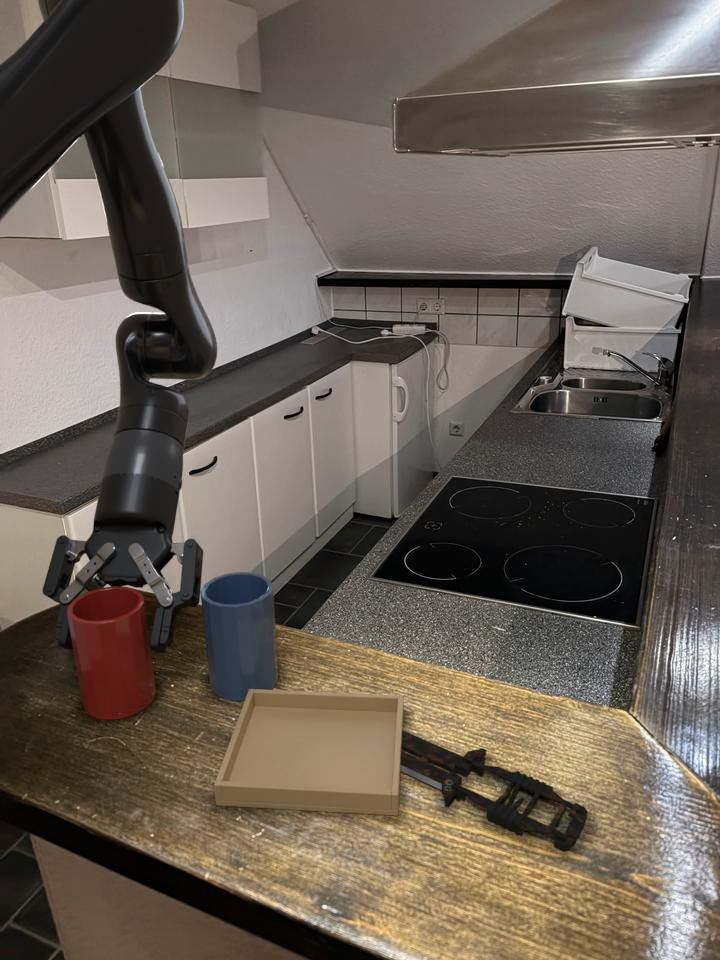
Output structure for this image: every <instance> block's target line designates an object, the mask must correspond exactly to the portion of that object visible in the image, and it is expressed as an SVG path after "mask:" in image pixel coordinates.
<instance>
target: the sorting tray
mask: <svg viewBox="0 0 720 960" xmlns="http://www.w3.org/2000/svg"><path fill="white" fill-rule="evenodd" d="M404 697H405V696H404V695H401V694H400V695H399V694H398V695H397V694H375V693H374V694H373V693H353V692H331V691H329V692H328V691H305V690H304V691H303V690H283V689H282V690H281V689H272V690H261V689H255V690H254V689H249V691H248V693H247V696H246V699H245V701H243V704H242V707H241V710H240V713H239V716H238V718H237V720H236V724H235V726H234V729H233V732H232V735H231V737H230V740H229V743H228V746H227V748H226V751H225V754H224V757H223V759H222V762H221V764H220V768H219V770H218V773H217V775H216V778H215V781H214V784H213V788H214V789H213V790H214V798H215V799H214V800H215V806H219V807H235V808H236V807H238V808H252V809H253V808H255V809H272V810H290V811H291V810H292V811H307V812H309V811H310V812H324V813H325V812H326V813H341V814H342V813H343V814H344V813H345V814H360V815H378V816H395V817H396V816H397V817H398V816H399V807H400V806H399V803H400V789H401V788H400V786H401V771H400V768H401V751H403V749H402V730H403V731H404V729H403V728H404V715H405V712H404V705H405V703H404V702H405V700H404V699H405V698H404Z"/></svg>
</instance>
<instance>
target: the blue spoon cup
mask: <svg viewBox="0 0 720 960" xmlns="http://www.w3.org/2000/svg"><path fill="white" fill-rule="evenodd" d="M274 594H275V593H274V585H273V583H272V581H271V579H269V578H268V577H267V576H265V575H263V574H259V573H255V572H251V571H250V572H248V571H237V572H236V571H235V572H229V573H225V574H222V575H219V576H216V577H213V578H211V579H210V580H208V581H207V582H206V583H205V584H203V586H202V587H201V589H200V601H201V609H202V610H201V611H202V621H203V629H204V631H203V632H204V640H205V649H206V661H207V668H208V670H207V671H208V679H209V686H210V689H211V691H212V692H213V693H214V694H215V695H216V696H217V697H220V698H221V699H224V700H228V701H233V702H234V701H235V702H242V701H243V702H245V699H246V696H247V693H248V691H249V689H254V690H255V689H261V690H274V688H275V686H276V685H277V683H278V681H279V658H278V645H277V644H278V643H277V630H276V629H277V628H276V610H275V595H274Z"/></svg>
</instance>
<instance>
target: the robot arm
mask: <svg viewBox="0 0 720 960" xmlns="http://www.w3.org/2000/svg"><path fill="white" fill-rule="evenodd" d="M37 1H38V2H37V3H38V8H39V11H40V15H41V17H42V21H43V22H41V23H40V25H39V26H38V27H37V28H36V29H35V30H34V32H33V33H32V34H31V35H30V36H29V37H28V38H27V40H25V42H24V43H23V44H21V46H20V47H18V49H16V51H15V52H13V54H11V55H10V56H8V58H6V59H5V60H4V61H3V62H1V63H0V223H2V221H3V220H4V219H5V218H6V217H7V215H8V214H9V213H10V212H11V211H12V210H13V209H14V208H15V207H16V205H18V204H19V202H21V200H22V199H23V198H24V197H25V196H26V195H27V194H28V193H29V192H30V191H31V190H32V189H33V188H34V187H35V186H36V185H37V184H38V183H39V182H40V181H41V180H42V179H43V177H44V176H45V175H46V174H48V172H49V171H50V170H51V169H52V168H53V167H54V166H55V165H56V164H57V162H58V161H59V160H60V159H61V158H62V157H63V156H64V155H65V153H67V152H68V150H69V149H70V148H71V147H72V146H73V145H74V144H75V143H76V142H77V141H78V140H79V139H80V138H81V137H82V136H83V137H84V139H85V143H86V146H87V149H88V153H89V156H90V159H91V163H92V167H93V170H94V171H93V172H94V174H95V178H96V181H97V182H96V183H97V185H98V189H99V194H100V197H101V202H102V206H103V211H104V216H105V220H106V224H107V225H106V226H107V231H108V235H109V240H110V244H111V245H110V246H111V250H112V254H113V259H114V260H113V261H114V263H115V269H116V274H117V279H118V283H119V287H120V289H121V291H122V293H123V295H124V296H125V297H126V298H128V299H129V300H130V301H133V302H135V303H137V304H140V305H144V306H148V307H151V308H154V309H157V310H159V311H160V312H134V313H131V314H129V315H128V316H126V317H125V318H124V319H123V320H122V321H121V322H120V324H119V325H118V327H117V328H116V333H115V337H114V338H115V339H114V340H115V351H116V352H115V353H116V358H117V359H116V360H117V365H118V373H119V375H118V376H119V407H118V413H117V417H116V423H115V427H114V432H113V437H112V442H111V444H110V447H109V450H108V452H107V455H106V459H105V463H104V468H103V472H102V478H101V483H100V487H99V493H98V497H97V503H96V506H95V512H94V516H93V527H92V532H91V534H90V536H89V537H88V538H87V540H80V539H79V540H78V539H71V538H70V537H68V536H67V535H64V534H62V535H60V536H58V537H57V538H56V541H55V545H54V548H53V551H52V555H51V558H50V561H49V566H48V569H47V571H46V576H45V580H44V583H43V586H42V590H41V591H42V594H43V596H45V597H47V598H49V599H51V601H53V602H55V603H58V604H59V610H58V615H57V620H56V624H55V629H54V639H55V640H56V641H57V643H58V644H57V645H58V646H59V647H60V648H62V649H65V650H73V645H72V639H71V633H70V628H69V622H68V616H67V610H68V606H69V605H70V604H71V603H72V601H73V600H74V599H76V598H78V597H79V596H81V595H83V594H84V593H87V592H90V591H93V590H96V589H99V588H105V587H107V585H108V586H109V587H112V586H119V587H127V586H128V587H131V588H135V589H136V588H139V589H141V588H142V589H143V588H144V586H147V585H148V586H149V588H150V590H151V591H152V592H153V595H154V596H155V597H156V599H157V601H158V602H159V607H155V613H154V619H153V626H152V630H151V631H152V632H151V637H150V648H151V652H152V651H153V652H154V653H156V654H165V652H166V648H169V647H171V646H172V643H173V642H174V635H175V629H176V621H177V616H178V613H179V612H180V611H182V610H183V609H186V608H189V607H190V608H195V607H198V605H199V604H200V601H201V590H202V587H201V586H202V576H203V575H202V574H203V563H204V550H203V549H204V548H202V547H201V545H200V544H199V542H198V541H197V540H196V539H194V538H192V537H191V538H188V539H186V540H185V541H184V542H173V534H174V531H175V525H176V518H177V512H178V505H179V498H180V493H181V490H182V488H183V471H184V451H185V446H186V445H185V444H186V440H187V439H186V438H187V432H188V427H189V426H188V425H189V419H190V405H189V402H188V399H187V398H186V397H185V396H184V395H183V394H182V393H181V392H179V391H177V390H176V389H174V388H171V387H168V386H166V385H163V384H159V383H156V382H152V381H150V380H151V379H152V380H154V379H156V380H182V381H195V380H196V381H197V380H202V379H204V378H206V377H207V376H208V375H209V374H210V373H211V372H212V370H213V369H214V367H215V365H216V361H217V359H218V342H217V338H216V334H215V331H214V329H213V326H212V322H211V321H210V319H209V316H208V314H207V313H206V311H205V308H204V306H203V304H202V301H201V300H200V297H199V295H198V292H197V289H196V287H195V285H194V282H193V278H192V276H191V273H190V267H189V260H188V253H187V252H188V251H187V246H186V239H185V233H184V227H183V221H182V216H181V212H180V208H179V205H178V202H177V199H176V196H175V195H176V194H175V193H174V190H173V187H172V184H171V182H170V180H169V177H168V174H167V172H166V168H165V166H164V164H163V161H162V159H161V156H160V154H159V151H158V148H157V146H156V143H155V139H154V137H153V135H152V132H151V128H150V124H149V121H148V116H147V114H146V110H145V109H146V108H145V105H144V100H143V95H142V89H141V87H142V86H144V85H145V84H146V83H147V82H148V81H149V80H151V79H152V78H153V77H155V75H157V74H158V73H159V72H160V71H161V70H162V69H163V68H164V67H165V66H166V64H168V62H169V60H170V59H171V57H172V56H173V54H174V53H175V51H176V49H177V47H178V45H179V43H180V39H181V36H182V32H183V28H184V20H185V19H184V18H185V7H184V0H37ZM84 555H86V556H87V558H88V560H89V561H87V563H86V564H85V565H83V567H82V568H81V569H80V570H79V571H78V572H77V573H76V574H75V576H74V580H73V581H72V582H71V579H72V576H73V573H74V569H75V565H76V564H77V563H79V562H80V561H81V559H82V557H83V556H84ZM174 556H176V560H177V562H178V563H179V564H180V565H181V574H180V586H179V591H175V592H173V590H172V587H171V585H170V584H169V582H168V581H167V579H166V577H165V575H164V574H163V572H162V570H163V569H164V568H165V567H166V566H167V565H168V564H169V563H170V561H171V560H172V559H174Z"/></svg>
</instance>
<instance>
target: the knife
mask: <svg viewBox="0 0 720 960" xmlns="http://www.w3.org/2000/svg"><path fill="white" fill-rule="evenodd" d="M403 750H404V751H403ZM413 755H415V756H413ZM486 755H487V749H485V748H483V747H481V748H478V749H473V750H467V752H466V753H465V754H464V755H460V754H458V753H456V752H454V751H451V750H449V749H446V748H444V747H442V746H439V745H437V744H435V743H433V742H430V741H429V740H426V739H424V738H421V737H419V736H417V735H415V734H412V733H410V732H407V731H406V730H404V729H403V730H402V751H401V768H400V772H402V773H404V774H406V775H408V776H410V777H412V778H415V779H417V780H419V781H421V782H423V783H425V784H427V785H430V786H432V787H433V788H436V789H438V790H439V791H441V794H442V795H443V796H444V802H445V804H444V807H445V808H447V809H449V808H450V807H451V805H452V804H453V803H454V802H455V801H457V802H461V801H462V802H465V800H467V798H468V799H469V800H470V801H471V802H472V803H474V804H476V805H477V806H480V807H482V808H483V809H486V814H485V815H486V819H487V820H488V821H487V822H489V823H493V824H494V825H495V826H497V827H501V829H504V830H507V831H508V832H510V833H514V835H515V836H520V837H523V836H524V831H527V832H529V833H539V834H543V835H552V836H554V837H556V838H555V840H554V842H553V848H554V849H556V850H558V851H561V852H562V853H567V852H571V849H572V848H573V847H574V846H575V844H576V843H577V841H578V839H579V837H580V835H581V834H582V832H583V830H584V828H585V823H586V821H587V819H588V810H587V808H586V807H585V806H584V805H581V804H579V803H576V802H575V803H573V802H570V801H568V800H566V799H564V798H563V797H561V795H559V794H558V793H557V792H555V791H554V787H553V786H551V785H548V784H547V782H544V781H540V779H537V778H536V779H535V778H534V777H533V776H531V775H529V776H528V774H526V773H521V771H519V770H516V771H511V770H508V769H505V768H503V767H500V766H495V765H488V764H486V763H485V762H486V760H487V758H486ZM416 756H417V757H416ZM433 764H434V765H433ZM440 767H441V768H440ZM442 768H443V769H442ZM447 770H448V771H447ZM485 772H486V773H489V774H491V775H493V776H496V777H498V778H500V779H502V780H505V781H507V782H508V784H507V787H506V788H505V790H504V793H502V795H500V796H499V797H498V798H497V799H496V800H493V799H490V798H489V797H486V796H484V795H482V794H480V793H477V792H475V791H473V790H471V789H468V788H467V787H464V786H463V785H462V783H463V777H464V778H466V779H467V778H468V777H469V775H470V774H471V773H475V774H476V775H477V776H478V777H480V778H483V777H484V775H485ZM513 786H514V788H513ZM512 788H513V790H512ZM520 788H522V789H523V790H524V791H529V793H531V794H534V795H533V796H532V797H531V799H530V800H529V802H528V804H527V805H526V807H524V810H523V811H522V812H520V811H519V810H517V809H518V807H520V806H521V805H522V803H523V802H524V800H525V798H523V797H520V798H519V799H517V800H516V801H515V798H516V796H517V794H518V793H519V790H520ZM511 791H512V792H511ZM540 796H541V797H543V798H546V799H547V800H550V801H553V802H554V803H557V804H559V805H560V806H559V808H558V810H557V812H556V813H555V815H554V817H553V818H552V820H551V821H550V823H549V825H546V824H545V823H542V822H540V821H538V820H536V819H533V818H531V817H529V816H528V814H529V813H530V811H531V810H532V809H533V807H534V805H535V803H536V802H537V801H538V799H539V797H540ZM507 800H508V801H507ZM506 801H507V802H506ZM514 801H515V802H514ZM505 803H506V804H505ZM567 808H568V809H570V810H569V812H568V814H567V816H568V817H570V818H571V820H570V822H569V824H568V825H567V828H566V830H565V833H564V832H562V831H560V830H558V829H555V828H556V827H557V828H559V827H560V825H561V818H562V816H563V814H564V812H565V811H566V809H567Z"/></svg>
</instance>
